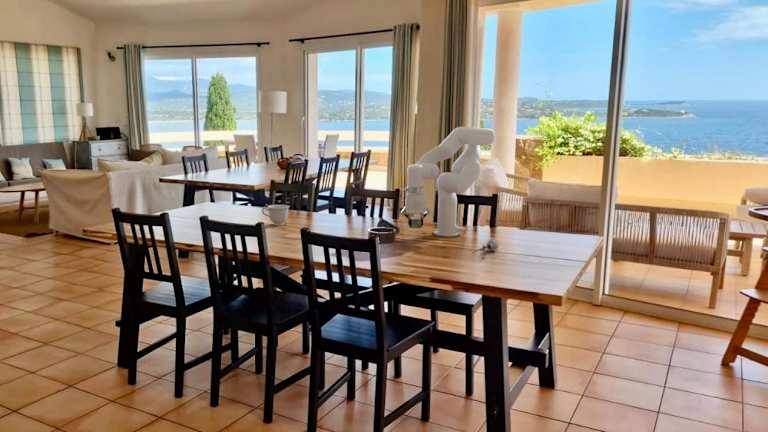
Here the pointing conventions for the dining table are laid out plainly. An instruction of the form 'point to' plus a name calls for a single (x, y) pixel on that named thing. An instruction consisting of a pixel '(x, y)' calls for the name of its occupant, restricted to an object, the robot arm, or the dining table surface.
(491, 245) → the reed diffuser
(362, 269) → the dining table surface
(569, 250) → the dining table surface
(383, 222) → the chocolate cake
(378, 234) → the bowl
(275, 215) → the teacup
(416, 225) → the green cube
